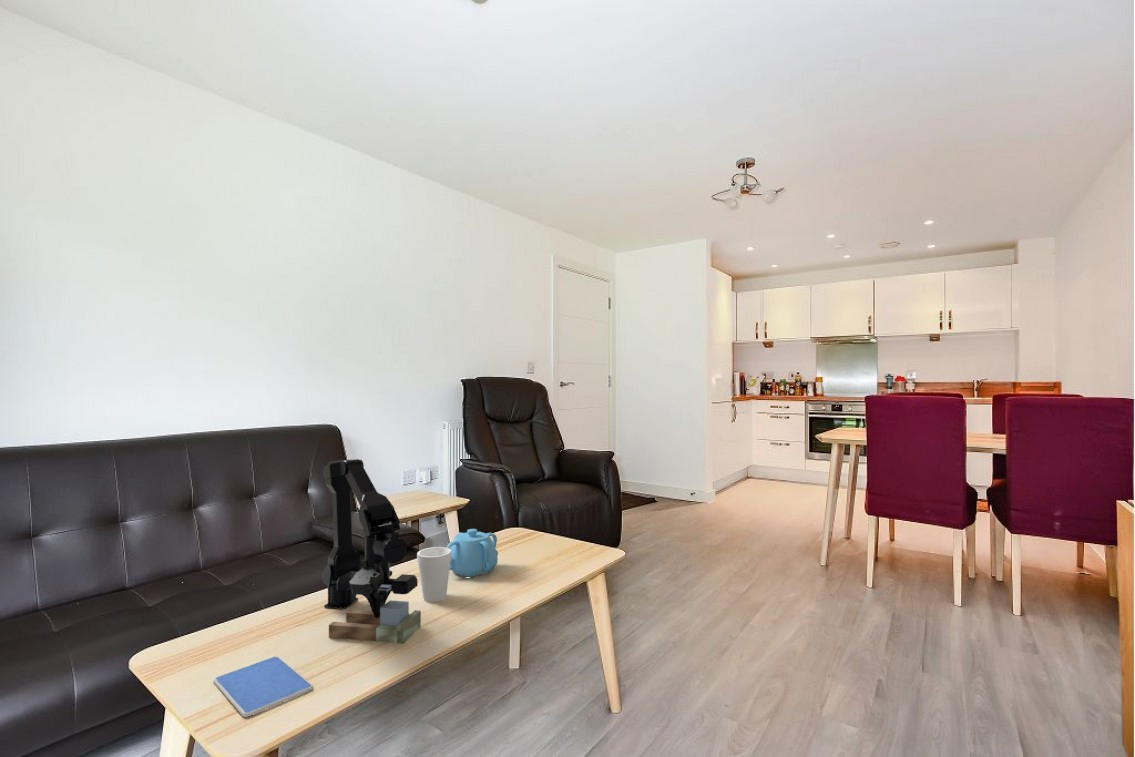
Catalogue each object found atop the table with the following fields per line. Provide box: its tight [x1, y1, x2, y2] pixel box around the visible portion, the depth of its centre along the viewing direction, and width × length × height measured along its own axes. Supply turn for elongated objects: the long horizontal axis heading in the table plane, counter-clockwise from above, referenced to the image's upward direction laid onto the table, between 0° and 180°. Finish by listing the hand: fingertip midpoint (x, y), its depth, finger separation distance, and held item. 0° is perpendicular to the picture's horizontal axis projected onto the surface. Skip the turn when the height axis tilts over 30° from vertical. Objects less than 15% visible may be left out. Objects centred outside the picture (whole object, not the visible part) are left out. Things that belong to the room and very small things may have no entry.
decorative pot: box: [446, 528, 499, 578], centre depth 170 cm, size 16×16×14 cm
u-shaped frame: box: [328, 609, 422, 645], centre depth 129 cm, size 19×9×4 cm, turn 79°
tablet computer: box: [212, 656, 314, 718], centre depth 106 cm, size 19×13×1 cm, turn 49°
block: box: [380, 599, 410, 627], centre depth 128 cm, size 5×4×7 cm
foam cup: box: [416, 546, 451, 603], centre depth 149 cm, size 10×9×13 cm
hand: (377, 617), depth 128 cm, fingers closed
